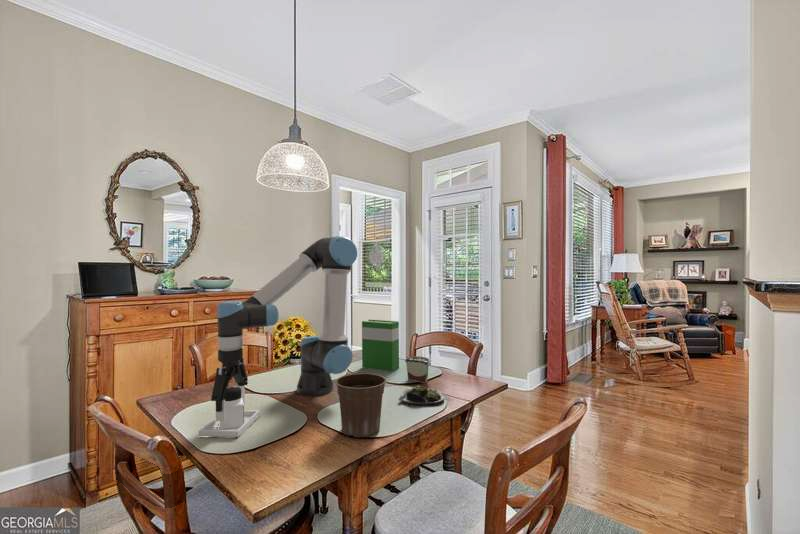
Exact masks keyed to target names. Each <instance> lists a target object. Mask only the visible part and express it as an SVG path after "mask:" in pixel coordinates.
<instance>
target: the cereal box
mask: <svg viewBox="0 0 800 534" xmlns="http://www.w3.org/2000/svg"><path fill="white" fill-rule="evenodd" d="M399 325H400V323H399V321H397V320H396V321H395V320H382V319H368V320H367V321H365V320H363V321H361V352H362V353H361V356H362V357H361V360H362V362H361V367H364V369H369V368H371V369H370V370H378V371H383V372H385V371H386V372H394V371H396V370H398V369H399V368H400V328H399V327H400V326H399Z"/></svg>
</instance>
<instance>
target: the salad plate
mask: <svg viewBox="0 0 800 534" xmlns="http://www.w3.org/2000/svg"><path fill="white" fill-rule="evenodd" d="M444 400H445V398H444V395H443V394H442V392H441V390H439V389H437V388H436V389H435V388H427V387H426V385H425V386H424V385H423V386H422V385H421V386H420V385H418V384H417V385H414V386H413V387H412V388H410V389H405V390H402V391H401V393H400V397H399V398H398V401H399V402H402V403H404V404H405V405H407V404H408V406H411V405H413V406H414V407H433V405H434V406H438V404H439V405H440V403H441V404H442V403H443V402H444ZM413 406H412V407H413Z"/></svg>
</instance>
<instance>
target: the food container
mask: <svg viewBox="0 0 800 534" xmlns="http://www.w3.org/2000/svg"><path fill="white" fill-rule="evenodd" d="M404 361H405V363H406V373H407V380H408V381H412V380H414V382H417V381H418V383H422V384H423V383H424V384H427V382H428V376H429V366H430V365H431V362H430V361H431V360H430V359H429V358H428V357H425V356H409V357H405V360H404Z"/></svg>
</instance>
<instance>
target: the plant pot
mask: <svg viewBox="0 0 800 534" xmlns="http://www.w3.org/2000/svg"><path fill="white" fill-rule="evenodd" d="M386 383H387V378H386V377H385V376H383V375H380V374H376V373H368V372H367V373H366V372H365V373H364V372H363V373H361V372H360V373H359V372H358V373H352V374H351V373H350V374H346V375H341V376H340V377H338V378H337V379H335V385H336V388H337V395H338V398H339V409H340V419H341V420H340V421H341V431H342V433H343V434H344V435H346V436H347V437H351V436H353V437H354V438H367V437H368V438H369V437H370V436H371V437H372V436H373V435H376V434H377V432H379V431H380V428H381V415H382V403H383V394H384V393H385V392H384V391H385V384H386Z"/></svg>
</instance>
